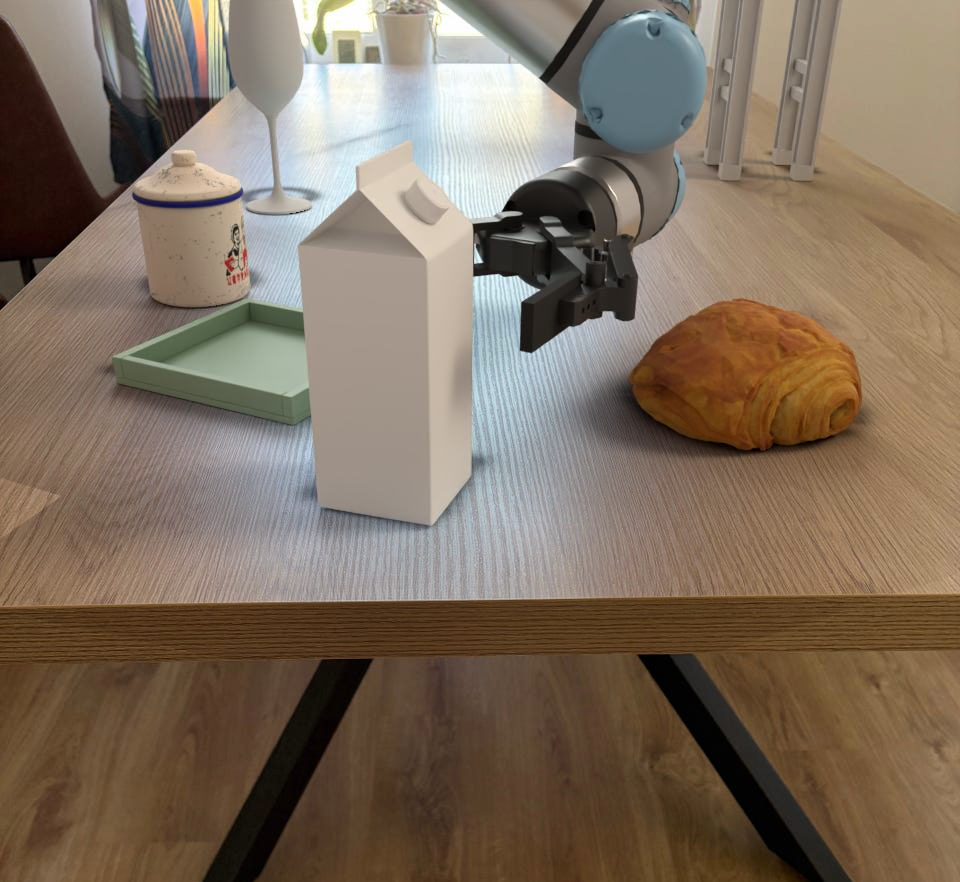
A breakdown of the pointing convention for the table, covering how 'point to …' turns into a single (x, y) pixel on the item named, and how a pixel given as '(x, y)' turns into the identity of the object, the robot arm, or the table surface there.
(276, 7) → the wineglass
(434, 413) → the milk carton
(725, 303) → the croissant
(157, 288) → the teacup with lid
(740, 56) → the grey tall open frame
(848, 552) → the table surface
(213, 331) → the drinks tray
